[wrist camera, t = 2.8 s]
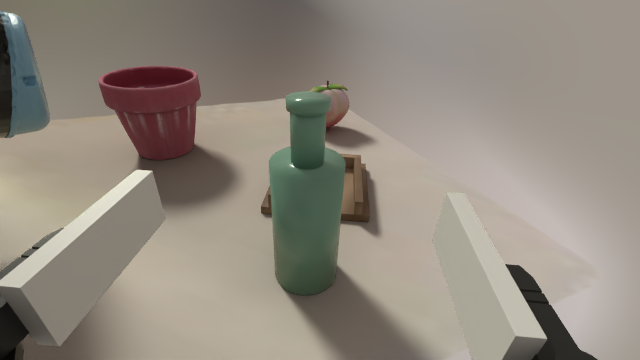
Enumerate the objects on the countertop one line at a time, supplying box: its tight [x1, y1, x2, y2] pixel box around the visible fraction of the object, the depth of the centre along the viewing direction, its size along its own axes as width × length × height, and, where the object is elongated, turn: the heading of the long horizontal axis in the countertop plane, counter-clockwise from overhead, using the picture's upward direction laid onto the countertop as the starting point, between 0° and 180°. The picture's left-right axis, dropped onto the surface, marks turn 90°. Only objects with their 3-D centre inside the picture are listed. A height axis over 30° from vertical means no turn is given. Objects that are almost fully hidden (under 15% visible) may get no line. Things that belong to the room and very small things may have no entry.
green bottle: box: [269, 91, 346, 295], centre depth 28 cm, size 6×6×18 cm
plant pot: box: [99, 66, 201, 160], centre depth 53 cm, size 14×14×13 cm
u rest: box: [261, 154, 369, 222], centre depth 46 cm, size 14×14×3 cm
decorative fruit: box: [310, 81, 349, 128], centre depth 65 cm, size 9×8×10 cm
